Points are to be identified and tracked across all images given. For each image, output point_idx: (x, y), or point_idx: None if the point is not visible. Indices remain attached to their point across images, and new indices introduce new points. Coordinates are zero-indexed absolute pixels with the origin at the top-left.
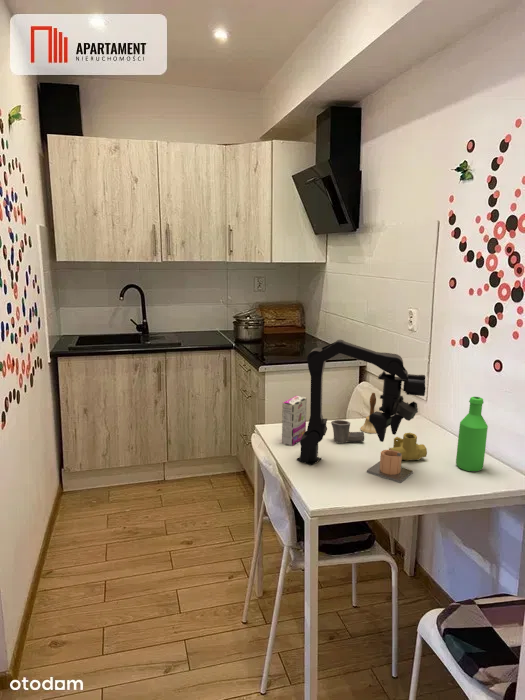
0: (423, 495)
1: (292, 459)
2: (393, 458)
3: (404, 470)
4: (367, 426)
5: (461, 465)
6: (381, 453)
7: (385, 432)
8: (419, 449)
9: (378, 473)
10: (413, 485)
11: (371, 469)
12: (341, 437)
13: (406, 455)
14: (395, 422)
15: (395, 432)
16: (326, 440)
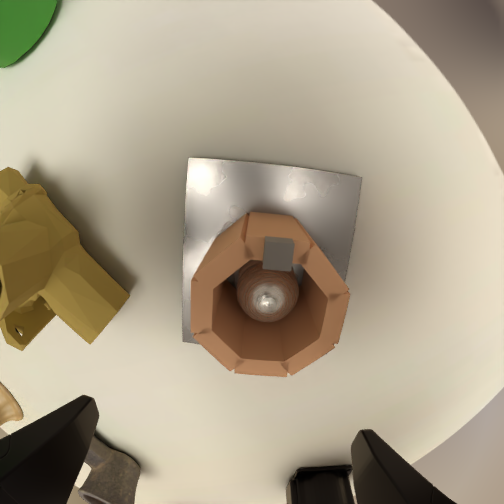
0: (409, 62)
1: None
2: (336, 272)
3: (215, 199)
4: (6, 414)
5: (42, 20)
6: (305, 365)
7: (414, 498)
8: (13, 199)
9: None
10: (345, 112)
11: None
12: (130, 474)
13: (72, 246)
14: (35, 490)
15: (83, 411)
16: (149, 481)
